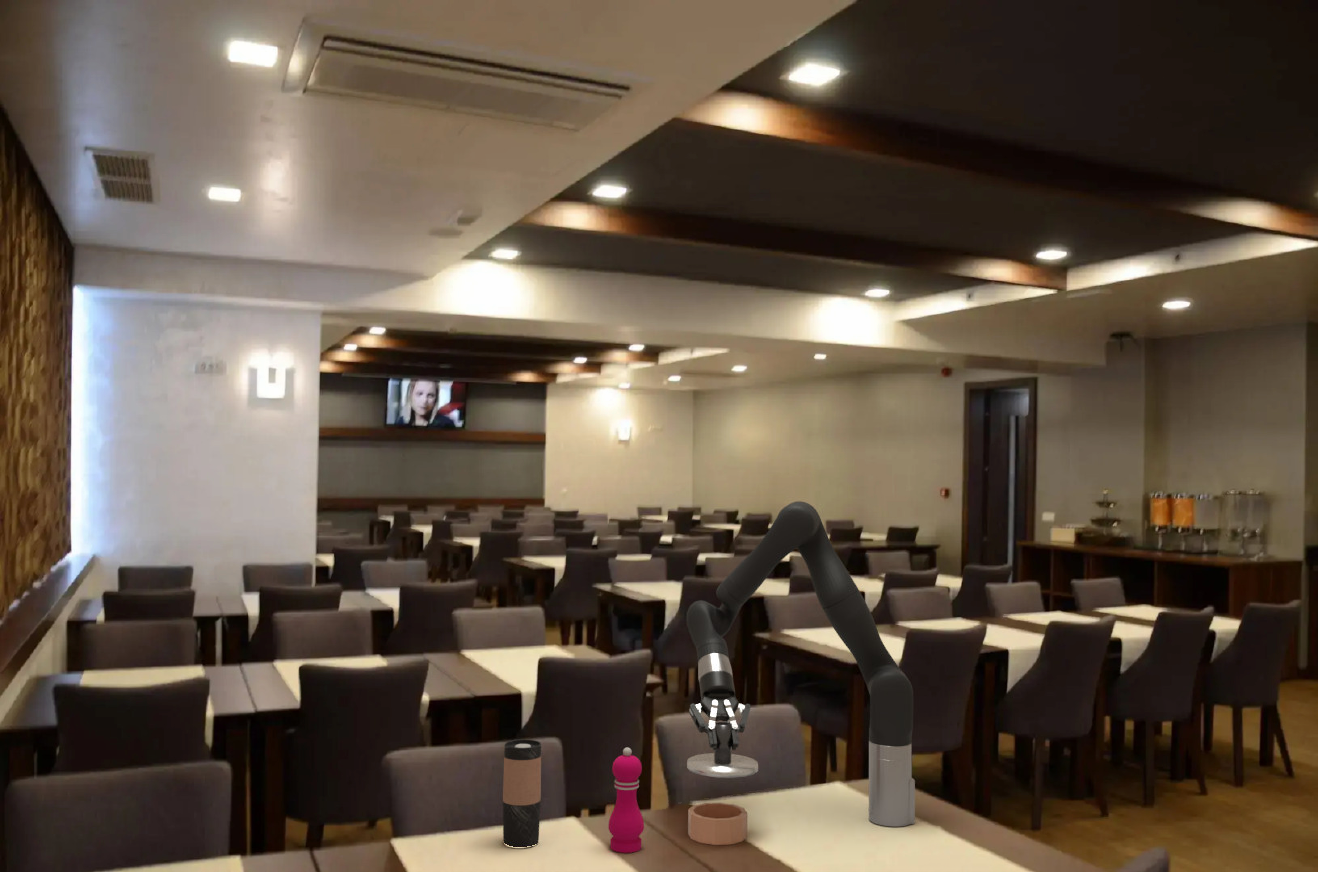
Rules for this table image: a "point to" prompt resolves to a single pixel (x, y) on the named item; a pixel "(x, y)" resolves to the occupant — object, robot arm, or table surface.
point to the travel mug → (521, 792)
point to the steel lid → (722, 758)
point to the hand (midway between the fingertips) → (724, 747)
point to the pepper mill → (626, 805)
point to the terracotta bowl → (717, 823)
